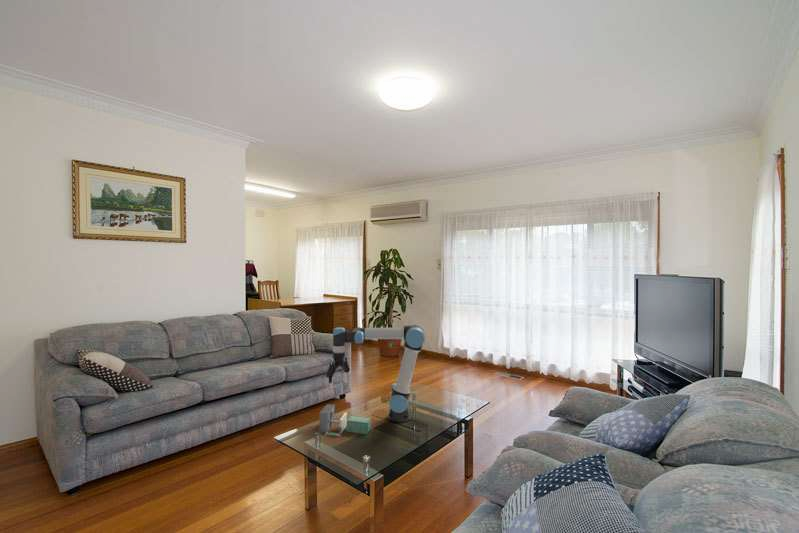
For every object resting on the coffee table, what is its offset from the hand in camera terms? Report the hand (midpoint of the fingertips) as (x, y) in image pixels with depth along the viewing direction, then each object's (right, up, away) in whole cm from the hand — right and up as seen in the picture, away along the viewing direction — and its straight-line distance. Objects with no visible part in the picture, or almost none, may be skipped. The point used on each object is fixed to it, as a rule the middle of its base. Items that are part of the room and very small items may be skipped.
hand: (338, 385), depth 236 cm
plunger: (-2, -24, -10) cm, 26 cm away
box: (+14, -25, -10) cm, 31 cm away
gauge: (-2, -24, -9) cm, 26 cm away
